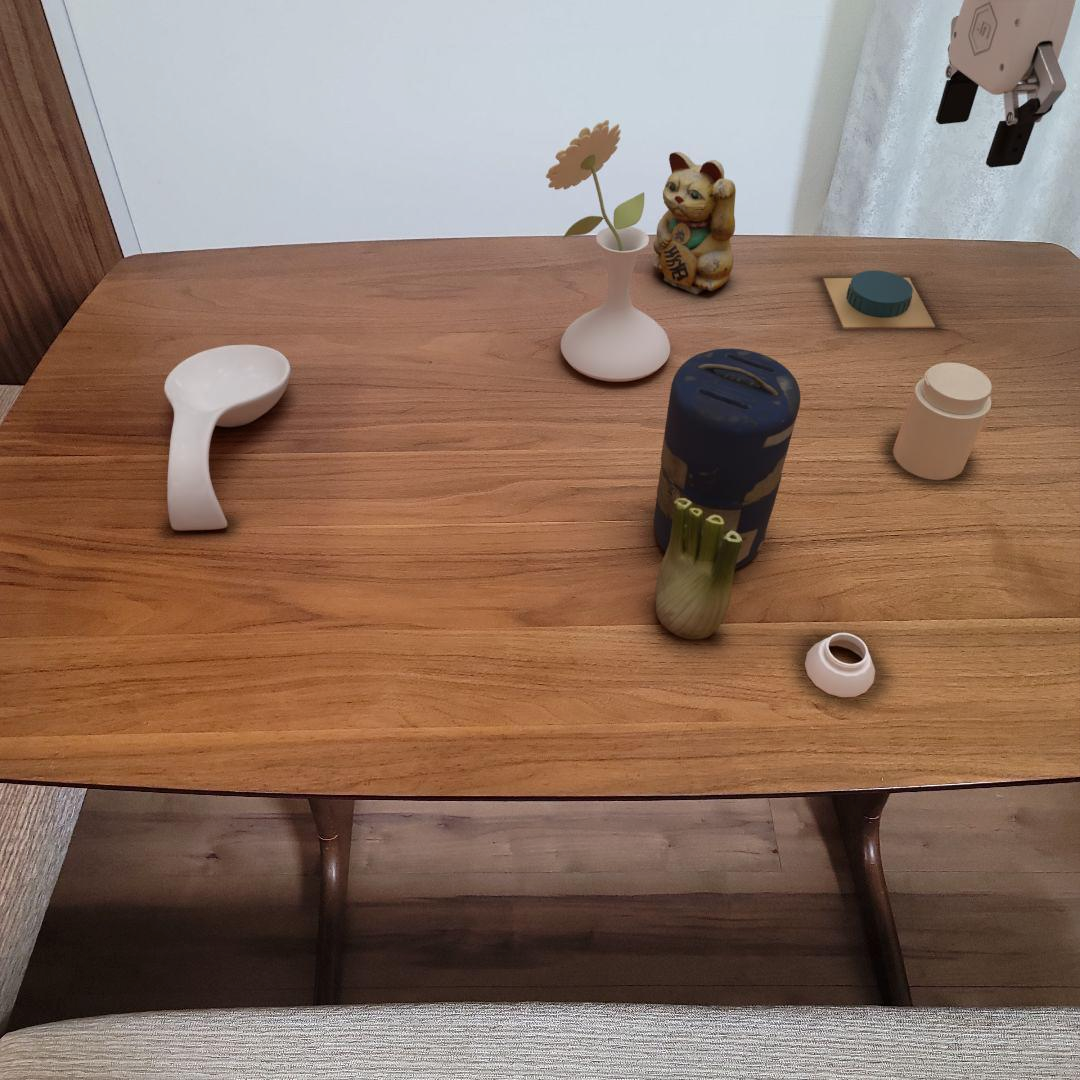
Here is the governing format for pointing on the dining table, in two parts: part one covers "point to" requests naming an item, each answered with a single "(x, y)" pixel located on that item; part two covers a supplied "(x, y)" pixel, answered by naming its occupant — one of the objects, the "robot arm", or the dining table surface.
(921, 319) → the coaster
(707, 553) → the fennel bulb
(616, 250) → the flower in vase
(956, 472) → the jar
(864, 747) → the dining table surface
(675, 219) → the decorative figurine
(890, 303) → the lid
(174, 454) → the spoon rest
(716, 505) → the canister
